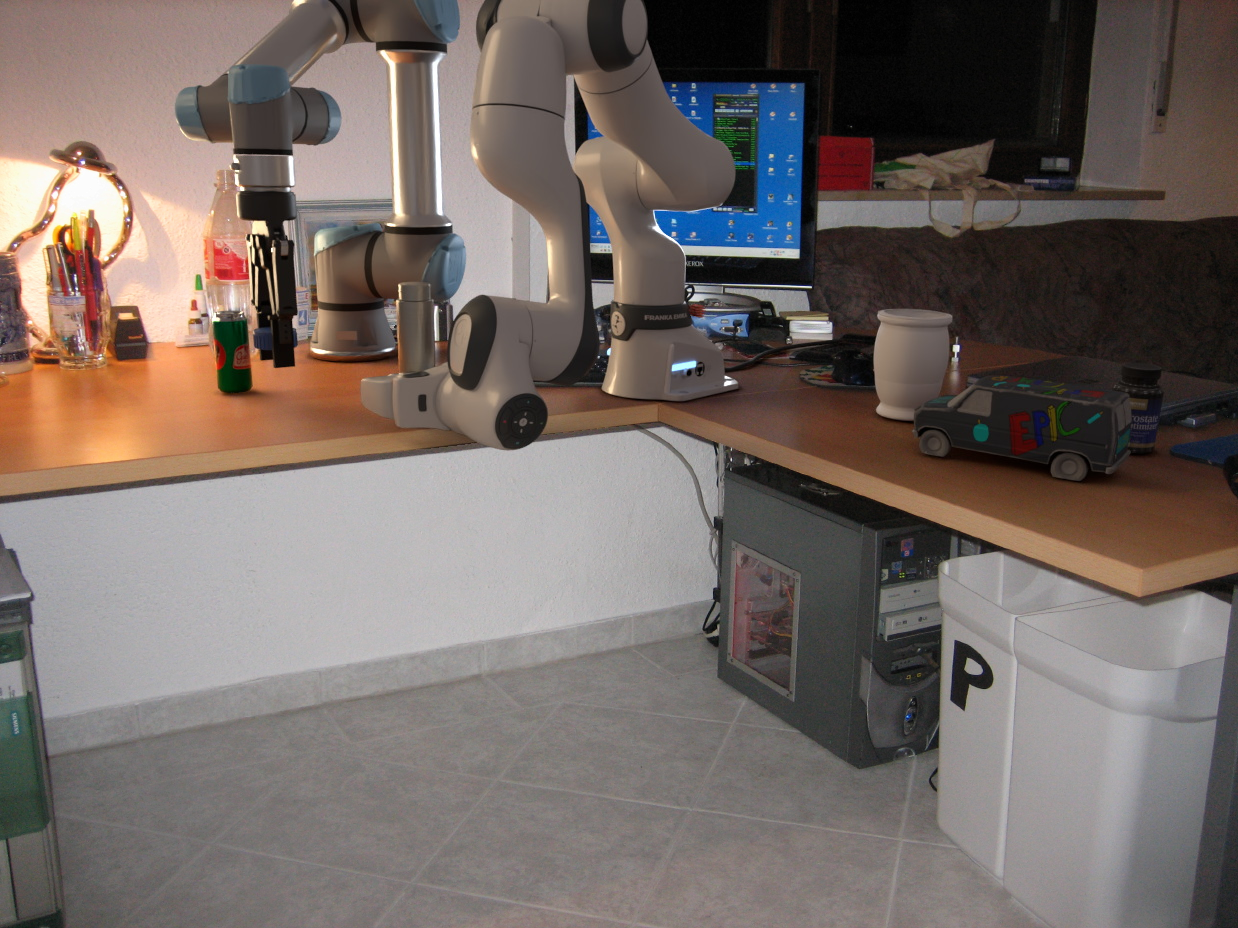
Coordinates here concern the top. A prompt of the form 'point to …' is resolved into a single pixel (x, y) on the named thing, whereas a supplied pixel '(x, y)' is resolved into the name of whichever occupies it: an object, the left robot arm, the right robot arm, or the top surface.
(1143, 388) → the pill bottle
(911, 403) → the jar
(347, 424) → the top surface
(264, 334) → the lid
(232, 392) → the soda can
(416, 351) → the metal bottle
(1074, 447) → the toy van
